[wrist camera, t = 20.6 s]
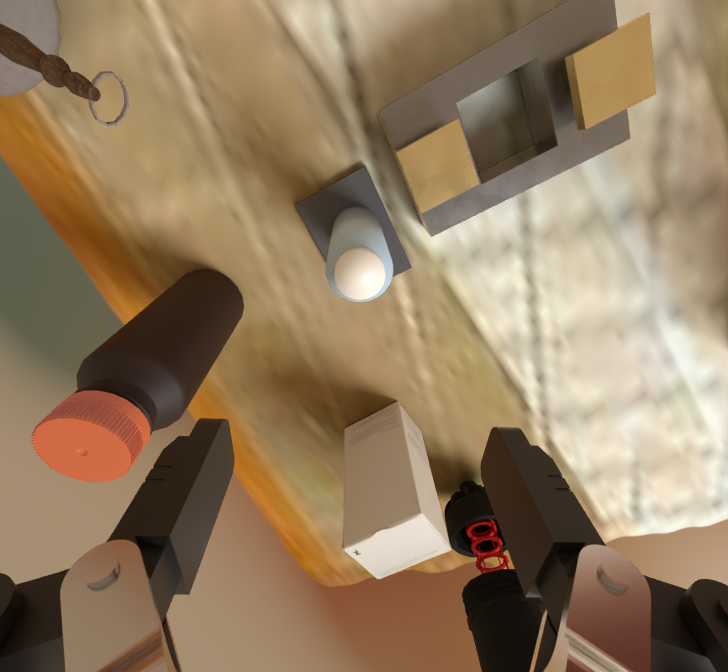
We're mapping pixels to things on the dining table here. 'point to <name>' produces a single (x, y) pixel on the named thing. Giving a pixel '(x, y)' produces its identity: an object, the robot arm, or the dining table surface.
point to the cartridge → (358, 256)
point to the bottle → (140, 379)
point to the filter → (492, 586)
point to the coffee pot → (40, 53)
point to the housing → (542, 101)
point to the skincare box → (390, 495)
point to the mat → (342, 195)
